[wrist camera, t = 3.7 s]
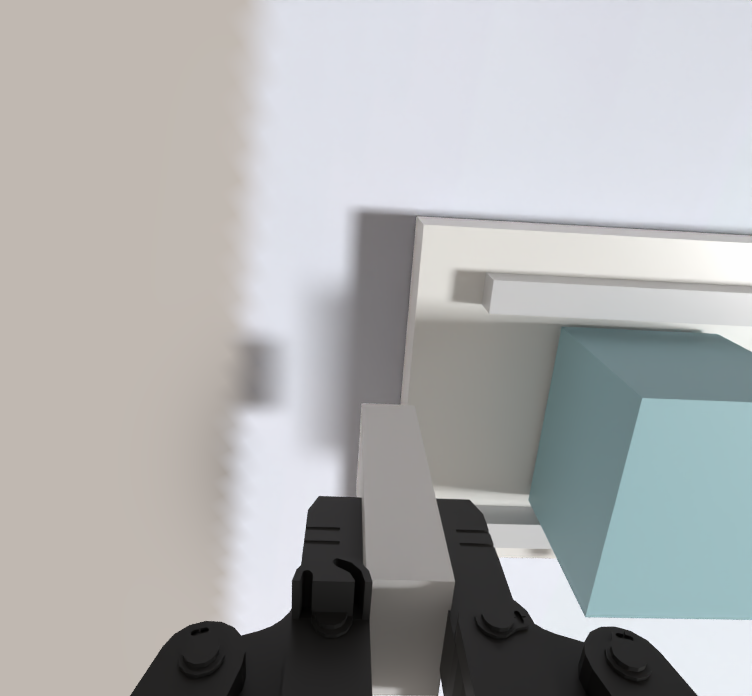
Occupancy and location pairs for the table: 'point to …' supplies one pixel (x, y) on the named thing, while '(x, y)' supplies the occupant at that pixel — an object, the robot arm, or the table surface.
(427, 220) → the board
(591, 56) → the table surface
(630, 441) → the gauge slider
